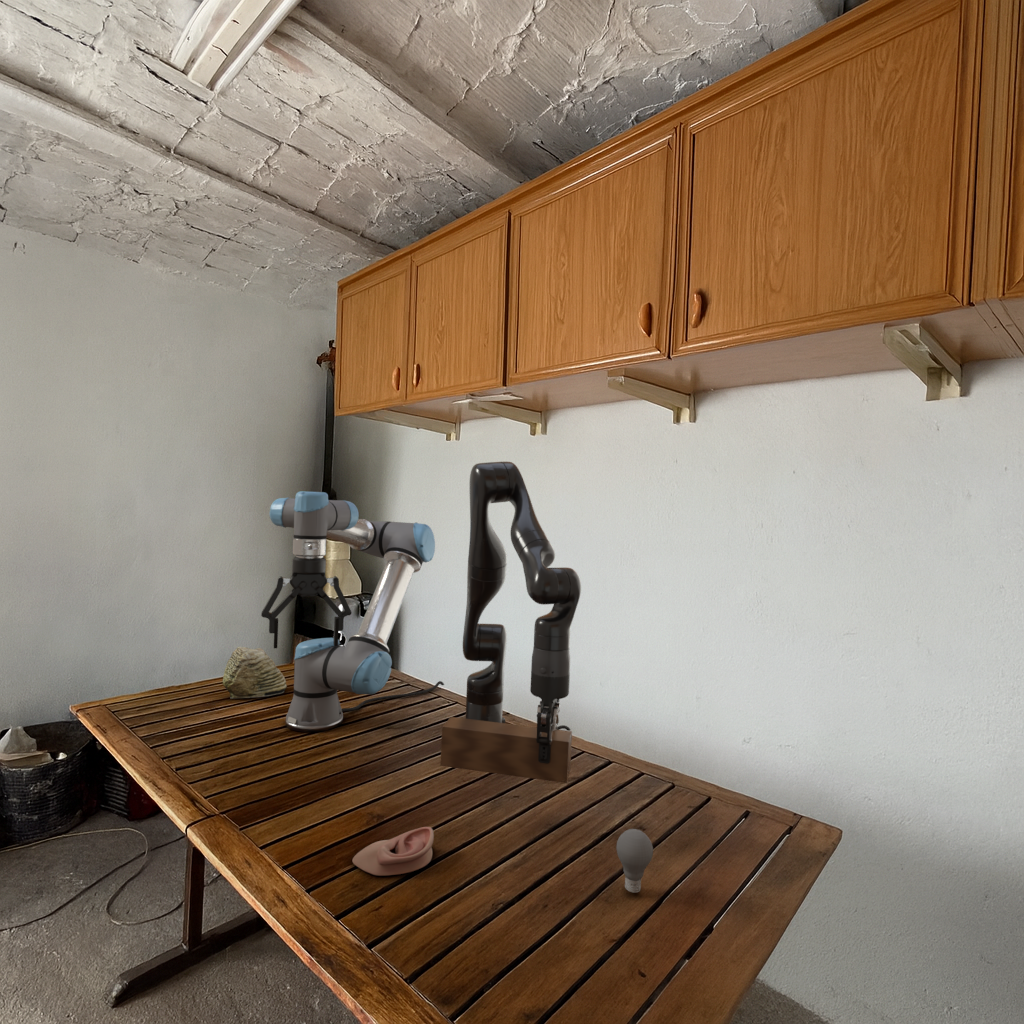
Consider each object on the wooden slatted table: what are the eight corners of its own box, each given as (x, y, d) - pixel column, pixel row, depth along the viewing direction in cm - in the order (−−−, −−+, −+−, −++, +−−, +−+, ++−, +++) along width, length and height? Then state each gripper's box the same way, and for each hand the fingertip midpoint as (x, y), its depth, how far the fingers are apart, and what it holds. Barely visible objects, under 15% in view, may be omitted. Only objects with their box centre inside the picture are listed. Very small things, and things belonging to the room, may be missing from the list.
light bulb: (610, 879, 108) (613, 822, 108) (644, 879, 109) (647, 822, 109) (619, 902, 102) (622, 840, 102) (655, 901, 103) (658, 840, 103)
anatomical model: (344, 847, 108) (373, 814, 119) (343, 870, 108) (372, 835, 119) (418, 859, 105) (440, 825, 116) (417, 883, 105) (439, 846, 116)
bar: (440, 765, 125) (442, 726, 124) (449, 754, 130) (450, 716, 130) (566, 783, 120) (568, 742, 119) (570, 770, 125) (572, 731, 125)
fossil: (218, 695, 195) (220, 647, 195) (278, 685, 208) (279, 640, 207) (228, 703, 189) (230, 653, 188) (289, 692, 201) (290, 645, 201)
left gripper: (252, 557, 142) (248, 652, 142) (365, 558, 151) (361, 647, 151) (252, 554, 149) (249, 644, 149) (360, 555, 158) (357, 640, 158)
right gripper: (565, 681, 115) (561, 773, 115) (573, 663, 129) (570, 744, 130) (524, 677, 117) (520, 768, 117) (537, 659, 131) (534, 740, 131)
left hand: (306, 645), depth 150 cm, fingers open, 13 cm apart
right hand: (546, 755), depth 123 cm, fingers closed on bar, 6 cm apart
